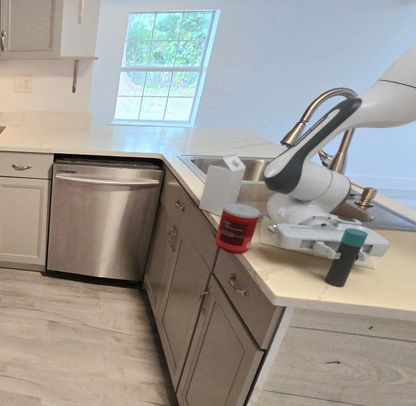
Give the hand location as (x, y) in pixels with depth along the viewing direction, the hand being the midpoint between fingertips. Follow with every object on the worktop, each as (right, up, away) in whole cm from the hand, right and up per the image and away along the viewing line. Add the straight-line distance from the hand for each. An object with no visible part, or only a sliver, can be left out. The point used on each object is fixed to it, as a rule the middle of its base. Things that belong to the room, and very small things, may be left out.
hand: (349, 257), depth 78 cm
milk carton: (-2, +9, +40) cm, 41 cm away
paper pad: (+11, +2, +21) cm, 24 cm away
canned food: (-12, 0, +19) cm, 23 cm away
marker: (0, -6, +4) cm, 7 cm away
